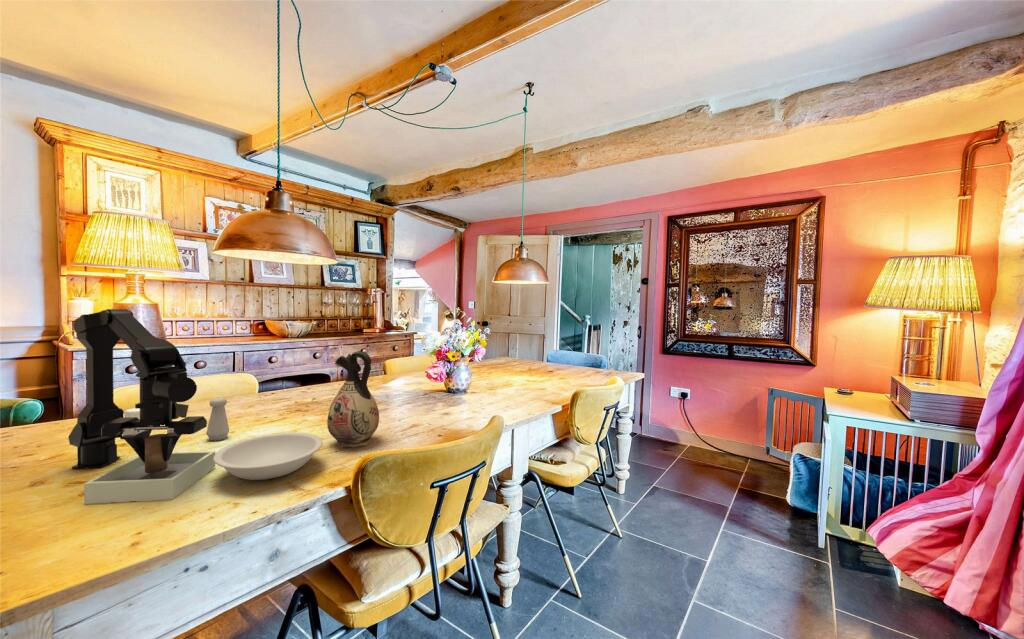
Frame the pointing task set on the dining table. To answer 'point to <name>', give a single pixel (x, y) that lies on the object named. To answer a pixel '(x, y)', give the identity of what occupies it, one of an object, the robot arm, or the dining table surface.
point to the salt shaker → (218, 420)
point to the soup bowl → (268, 455)
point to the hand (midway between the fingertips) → (156, 461)
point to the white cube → (132, 413)
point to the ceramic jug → (353, 405)
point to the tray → (149, 479)
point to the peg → (154, 454)
